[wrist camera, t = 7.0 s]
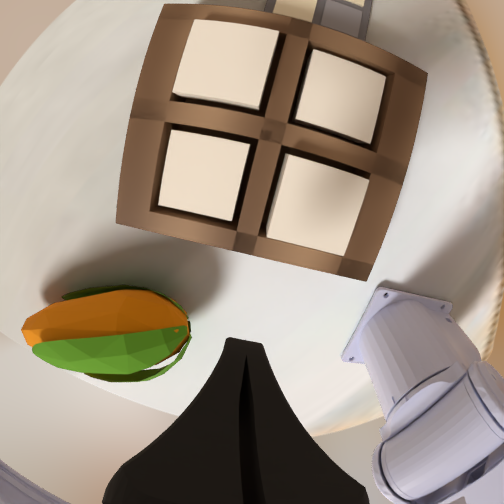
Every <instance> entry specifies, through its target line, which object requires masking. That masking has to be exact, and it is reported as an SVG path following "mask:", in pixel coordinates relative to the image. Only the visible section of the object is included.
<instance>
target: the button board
mask: <svg viewBox="0 0 504 504" xmlns="http://www.w3.org/2000/svg"><path fill="white" fill-rule="evenodd" d="M195 19H198V20H211V21H221V22H230V23H237V24H244V25H250V26H256V27H261V28H267V29H271V30H276V31H279V35H278V41H277V46H276V49H275V53H274V56H273V60H272V64H271V67H270V71H269V74H268V78H267V82H266V86H265V89H264V93H263V97H262V101H261V104H260V108H259V111H257V110H253V109H248V108H243V107H239V106H233V105H228V104H223V103H217V102H211V101H205V100H198V99H191V98H183V97H181V96H179V95H177V94H175V93H173V92H172V91H173V87H174V83H175V80H176V76H177V72H178V69H179V66H180V62H181V59H182V55H183V52H184V49H185V46H186V43H187V40H188V37H189V34H190V31H191V28H192V25H193V22H194V20H195ZM313 49H315V50H318V51H321V52H324V53H327V54H330V55H333V56H336V57H339V58H342V59H345V60H347V61H350V62H353V63H355V64H358V65H360V66H363V67H365V68H367V69H370V70H372V71H374V72H377V73H379V74H381V75H383V76H385V77H386V79H385V84H384V89H383V94H382V98H381V103H380V107H379V111H378V116H377V120H376V124H375V128H374V132H373V136H372V140H371V143H370V144H363V143H357V142H354V141H351V140H348V139H345V138H343V137H340V136H337V135H334V134H331V133H328V132H325V131H322V130H319V129H315V128H312V127H309V126H305V125H302V124H298V123H295V122H292V118H293V114H294V110H295V107H296V103H297V99H298V95H299V91H300V87H301V84H302V80H303V76H304V72H305V68H306V64H307V60H308V58H309V56H310V54H311V53H312V51H313ZM427 76H428V73H427V72H425V71H423V70H421V69H420V68H418V67H416V66H414V65H413V64H411V63H409V62H407V61H405V60H403V59H401V58H399V57H397V56H395V55H393V54H391V53H389V52H387V51H385V50H383V49H381V48H378V47H376V46H374V45H372V44H369V43H367V42H365V41H362V40H360V39H357V38H355V37H352V36H349V35H347V34H344V33H341V32H338V31H335V30H333V29H330V28H326V27H323V26H320V25H317V24H313V23H310V22H306V21H303V20H299V19H295V18H291V17H287V16H282V15H278V14H273V13H268V12H263V11H257V10H251V9H244V8H237V7H228V6H218V5H204V4H164V6H163V8H162V11H161V13H160V16H159V18H158V21H157V24H156V26H155V29H154V32H153V35H152V38H151V41H150V44H149V47H148V50H147V53H146V56H145V59H144V63H143V66H142V70H141V73H140V77H139V81H138V84H137V88H136V92H135V96H134V101H133V105H132V110H131V114H130V119H129V124H128V129H127V134H126V140H125V146H124V152H123V159H122V166H121V173H120V181H119V190H118V200H117V212H116V223H117V224H121V225H126V226H130V227H134V228H138V229H142V230H147V231H151V232H155V233H159V234H164V235H168V236H172V237H176V238H181V239H185V240H189V241H193V242H198V243H202V244H206V245H210V246H215V247H219V248H223V249H227V250H232V251H236V252H240V253H244V254H249V255H253V256H257V257H262V258H266V259H270V260H274V261H279V262H283V263H287V264H292V265H296V266H300V267H305V268H309V269H313V270H318V271H322V272H326V273H331V274H335V275H339V276H344V277H348V278H352V279H357V280H361V281H365V282H366V281H367V279H368V277H369V275H370V272H371V270H372V268H373V265H374V263H375V260H376V258H377V255H378V253H379V250H380V248H381V245H382V243H383V240H384V237H385V235H386V232H387V229H388V227H389V224H390V221H391V218H392V215H393V213H394V210H395V207H396V204H397V201H398V198H399V195H400V191H401V188H402V185H403V182H404V178H405V175H406V172H407V168H408V164H409V161H410V157H411V153H412V150H413V146H414V142H415V137H416V133H417V129H418V124H419V120H420V115H421V110H422V105H423V100H424V94H425V88H426V82H427ZM171 130H178V131H185V132H192V133H197V134H203V135H209V136H214V137H219V138H224V139H229V140H234V141H238V142H243V143H247V144H251V147H250V151H249V155H248V159H247V163H246V167H245V171H244V175H243V180H242V184H241V188H240V192H239V197H238V201H237V205H236V209H235V213H234V216H233V219H232V221H228V220H224V219H220V218H215V217H211V216H207V215H202V214H198V213H193V212H189V211H184V210H180V209H175V208H170V207H166V206H161V205H158V203H159V196H160V190H161V183H162V177H163V171H164V165H165V160H166V155H167V149H168V144H169V139H170V134H171ZM285 153H287V154H290V155H294V156H297V157H301V158H304V159H308V160H311V161H315V162H318V163H321V164H325V165H328V166H331V167H334V168H337V169H340V170H343V171H346V172H349V173H352V174H355V175H358V176H360V177H363V178H365V179H368V180H369V183H368V187H367V190H366V193H365V196H364V199H363V202H362V205H361V208H360V212H359V214H358V217H357V220H356V223H355V226H354V229H353V232H352V235H351V237H350V240H349V243H348V246H347V248H346V251H345V254H344V256H341V255H337V254H333V253H329V252H325V251H321V250H317V249H313V248H309V247H305V246H301V245H297V244H293V243H289V242H284V241H280V240H276V239H272V238H268V237H267V235H266V224H267V220H268V217H269V213H270V209H271V205H272V202H273V198H274V194H275V191H276V187H277V183H278V179H279V175H280V172H281V168H282V164H283V160H284V157H285Z"/></svg>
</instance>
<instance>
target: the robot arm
mask: <svg viewBox="0 0 504 504" xmlns="http://www.w3.org/2000/svg"><path fill="white" fill-rule="evenodd" d="M385 293H387V294H386V295H385V296H384V294H385ZM452 307H453V305H452V303H451V302H447V301H443V300H438V299H434V298H429V297H425V296H421V295H416V294H412V293H407V292H403V291H398V290H394V289H389V288H385V287H379V288H377V289H376V290H375V292H374V294H373V296H372V299H371V301H370V303H369V305H368V307H367V309H366V311H365V313H364V315H363V317H362V319H361V321H360V323H359V325H358V326H357V328H356V330H355V332H354V334H353V336H352V338H351V340H350V341H349V343H348V345H347V347H346V349H345V350H344V352H343V354H342V356H341V359H342V361H343V362H351V363H362V364H365V365H366V367H367V370H368V373H369V375H370V378H371V381H372V383H373V386H374V389H375V392H376V394H377V397H378V400H379V403H380V406H381V408H382V411H383V414H384V417H385V420H386V423H385V425H384V426H383V427H381V428H380V429H379V431H380V434H381V437H382V442H380V443H379V444H378V445H377V446H376V448H375V450H374V453H373V458H372V472H373V477H374V480H375V483H376V485H377V487H378V489H379V490H380V492H381V493H382V494H383V495H384V496H385V497H386V498H387V499H388V500H390V501H391V502H393V503H395V504H504V379H503V377H502V376H501V375H500V374H499V373H498V372H497V370H495V368H494V367H493V366H492V365H490V364H489V363H487V362H486V361H482V362H481V357H480V354H479V351H478V349H477V348H476V346H475V345H474V344H473V343H472V341H471V340H470V339H469V337H468V336H467V335H466V334H465V333H464V331H463V330H462V329H461V328H460V326H459V325H458V324H457V323H456V322H455V320H454V319H453V318H452V317H451V316H450V315H449V313H450V311H451V310H452ZM351 357H352V358H351ZM102 503H103V504H369V498H368V495H367V492H366V489H365V487H364V486H362V485H361V484H360V483H358V482H357V481H356V480H355V479H353V478H352V477H351V476H349V475H348V474H347V473H346V472H344V471H343V470H342V469H341V468H340V467H339V466H338V465H336V463H334V462H333V461H332V460H331V459H330V458H329V457H328V455H327V454H326V453H325V452H324V451H323V450H322V449H321V448H320V447H319V446H318V444H317V443H316V442H315V441H314V440H313V439H312V437H311V436H310V435H309V434H308V432H307V431H306V430H305V428H304V427H303V425H302V424H301V423H300V421H299V420H298V418H297V417H296V415H295V414H294V412H293V410H292V409H291V407H290V405H289V403H288V402H287V400H286V398H285V396H284V394H283V392H282V390H281V388H280V386H279V384H278V382H277V380H276V378H275V376H274V373H273V371H272V369H271V366H270V364H269V361H268V358H267V356H266V353H265V350H264V346H263V345H262V343H257V342H252V341H246V340H241V339H236V338H231V337H229V338H227V339H226V341H225V345H224V349H223V352H222V354H221V356H220V359H219V361H218V363H217V365H216V366H215V368H214V370H213V372H212V374H211V375H210V377H209V378H208V380H207V381H206V383H205V384H204V386H203V387H202V389H201V390H200V392H199V393H198V394H197V396H196V397H195V398H194V400H193V401H192V402H191V403H190V405H189V406H188V407H187V408H186V409H185V411H184V412H183V413H182V414H181V415H180V416H179V417H178V418H177V419H176V420H175V422H174V423H173V424H172V425H171V426H170V427H169V428H168V429H167V430H165V431H164V432H163V433H162V434H161V435H160V436H159V437H158V438H157V439H155V440H154V441H153V442H152V443H151V444H150V445H148V446H147V447H146V448H145V449H143V450H142V451H141V452H139V453H138V454H137V455H135V456H134V457H132V458H131V459H130V460H128V461H127V462H125V463H124V464H123V465H122V466H121V467H120V468H119V470H118V471H117V472H116V473H115V475H114V476H113V477H112V479H111V480H110V482H109V483H108V486H107V488H106V490H105V493H104V497H103V500H102ZM0 504H70V503H68V502H66V501H64V500H62V499H60V498H58V497H57V496H55V495H53V494H51V493H49V492H48V491H46V490H44V489H43V488H41V487H39V486H38V485H36V484H34V483H33V482H31V481H30V480H28V479H27V478H25V477H24V476H22V475H20V474H19V473H18V472H16V471H15V470H13V469H12V468H11V467H9V466H8V465H7V464H5V463H4V462H3V461H1V460H0Z"/></svg>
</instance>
